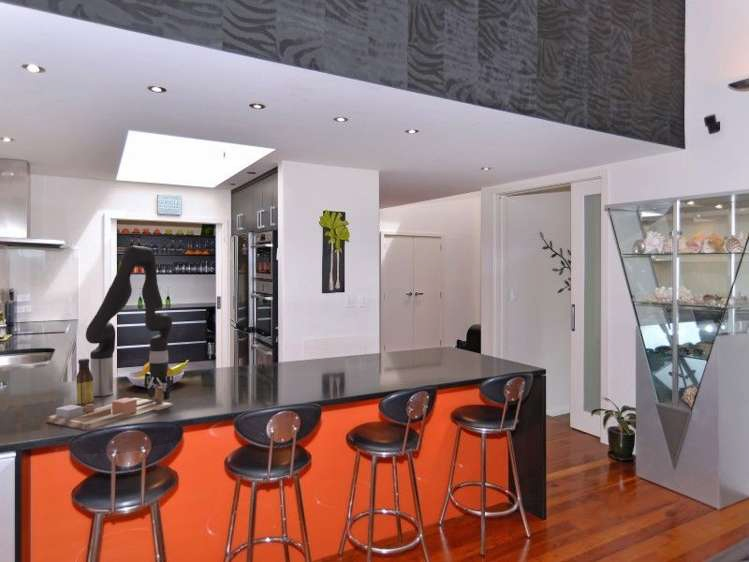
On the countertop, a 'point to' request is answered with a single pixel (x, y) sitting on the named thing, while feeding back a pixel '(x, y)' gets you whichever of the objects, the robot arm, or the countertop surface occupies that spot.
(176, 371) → the fruit bowl
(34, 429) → the countertop surface
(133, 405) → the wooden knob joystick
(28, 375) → the countertop surface
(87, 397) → the sauce bottle
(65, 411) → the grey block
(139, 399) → the wooden backboard
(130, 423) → the countertop surface
